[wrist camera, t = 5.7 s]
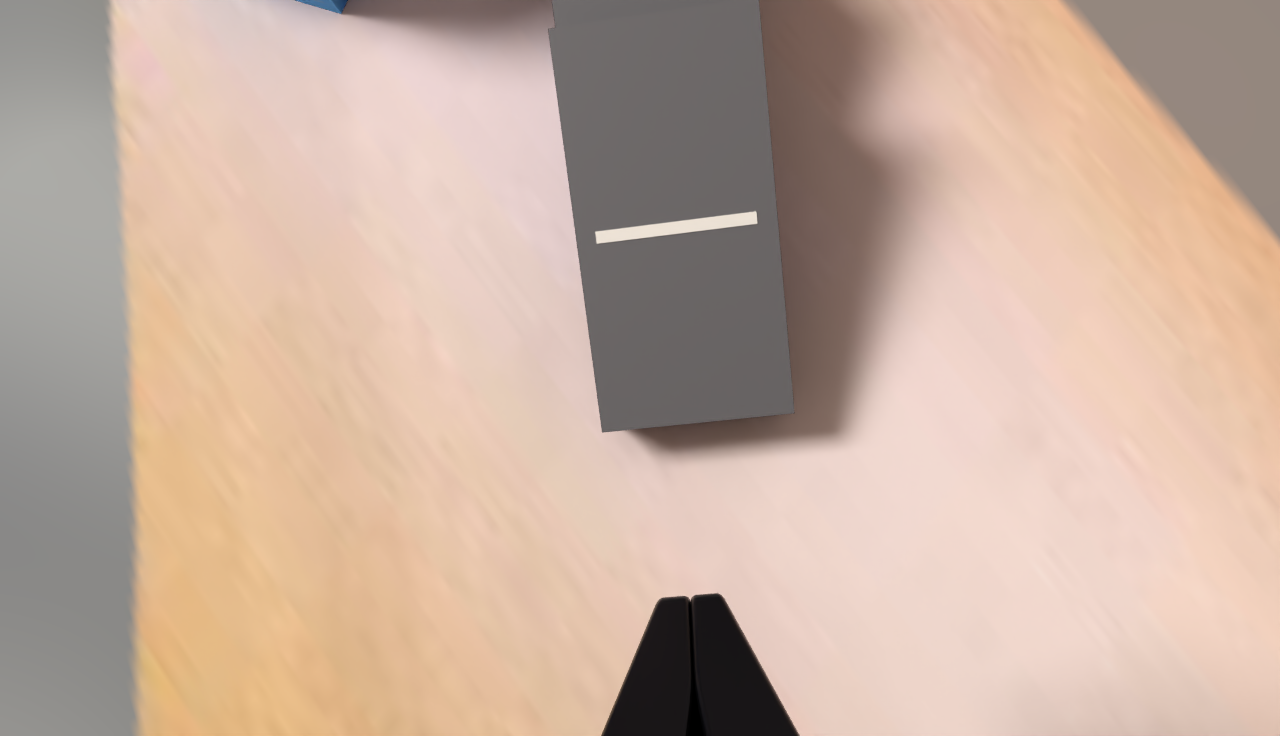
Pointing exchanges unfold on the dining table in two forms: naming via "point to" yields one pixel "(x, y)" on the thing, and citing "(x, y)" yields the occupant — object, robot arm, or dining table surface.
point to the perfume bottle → (327, 4)
